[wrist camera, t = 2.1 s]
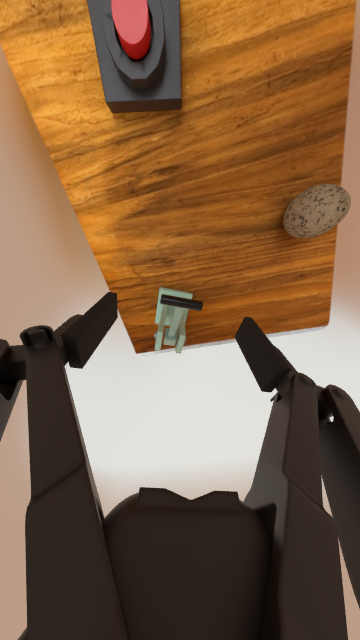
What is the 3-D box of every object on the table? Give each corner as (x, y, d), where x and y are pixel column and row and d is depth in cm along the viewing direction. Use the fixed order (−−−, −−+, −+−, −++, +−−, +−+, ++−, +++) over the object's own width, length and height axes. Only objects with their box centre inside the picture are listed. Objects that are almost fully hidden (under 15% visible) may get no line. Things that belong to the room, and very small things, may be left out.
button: (148, -5, 15) (145, -30, 14) (153, 59, 17) (150, 43, 15) (113, -2, 15) (106, -27, 14) (122, 60, 17) (116, 45, 16)
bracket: (160, 286, 35) (150, 316, 24) (192, 292, 36) (198, 324, 25) (155, 321, 41) (145, 359, 29) (183, 325, 41) (185, 364, 30)
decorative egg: (307, 178, 25) (371, 154, 17) (320, 216, 28) (381, 211, 19) (267, 214, 28) (305, 209, 19) (283, 245, 30) (322, 252, 22)
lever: (162, 287, 18) (159, 304, 16) (203, 295, 18) (202, 312, 17) (158, 331, 30) (155, 343, 29) (182, 335, 30) (181, 347, 29)
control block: (179, -3, 17) (179, -60, 13) (181, 109, 21) (181, 87, 18) (93, 2, 17) (71, -53, 14) (112, 113, 21) (99, 92, 18)
